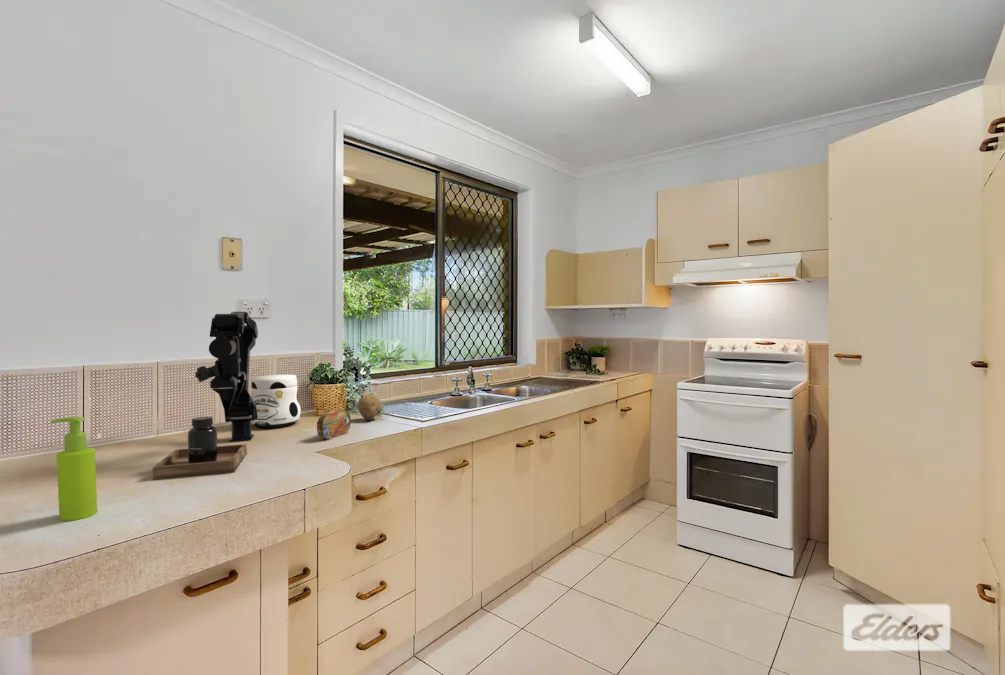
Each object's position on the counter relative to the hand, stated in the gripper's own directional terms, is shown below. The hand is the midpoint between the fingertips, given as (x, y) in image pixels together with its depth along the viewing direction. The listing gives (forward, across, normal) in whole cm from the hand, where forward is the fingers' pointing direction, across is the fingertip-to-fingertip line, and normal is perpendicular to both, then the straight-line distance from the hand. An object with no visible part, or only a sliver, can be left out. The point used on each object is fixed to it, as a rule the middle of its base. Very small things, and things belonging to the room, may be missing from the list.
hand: (230, 408), depth 149 cm
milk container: (+13, -36, +8) cm, 39 cm away
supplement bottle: (+12, +14, -4) cm, 19 cm away
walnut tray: (+13, +14, -4) cm, 20 cm away
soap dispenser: (+13, +44, -20) cm, 50 cm away
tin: (+13, -10, +29) cm, 33 cm away
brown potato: (+13, -33, +42) cm, 55 cm away
